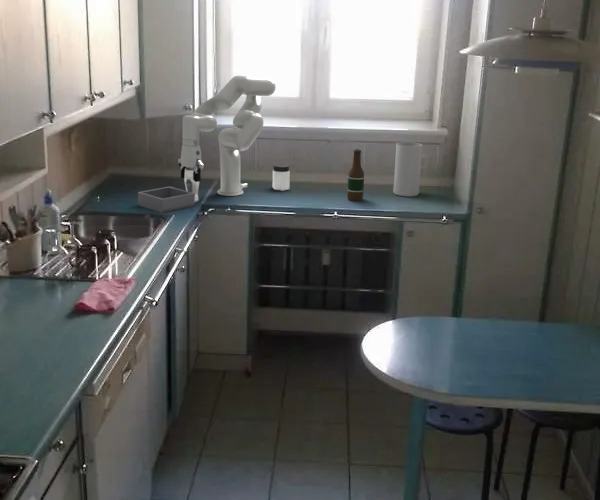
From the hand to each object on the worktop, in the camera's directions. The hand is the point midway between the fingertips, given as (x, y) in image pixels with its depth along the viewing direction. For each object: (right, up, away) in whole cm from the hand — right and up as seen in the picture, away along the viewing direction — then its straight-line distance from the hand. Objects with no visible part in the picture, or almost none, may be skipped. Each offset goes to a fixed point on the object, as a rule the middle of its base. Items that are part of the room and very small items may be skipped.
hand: (190, 179), depth 351 cm
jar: (+41, -2, +32) cm, 52 cm away
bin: (-10, -12, -7) cm, 17 cm away
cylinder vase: (+103, -5, +28) cm, 107 cm away
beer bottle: (+77, -8, +14) cm, 79 cm away
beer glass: (0, -10, +4) cm, 10 cm away
